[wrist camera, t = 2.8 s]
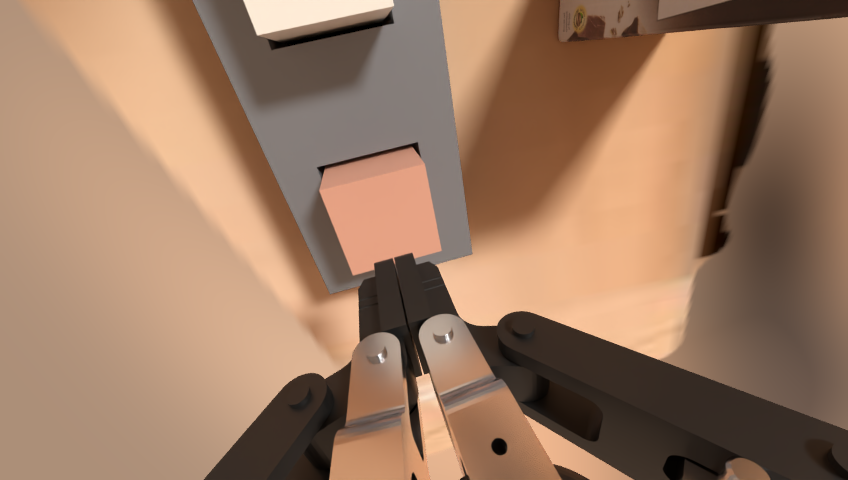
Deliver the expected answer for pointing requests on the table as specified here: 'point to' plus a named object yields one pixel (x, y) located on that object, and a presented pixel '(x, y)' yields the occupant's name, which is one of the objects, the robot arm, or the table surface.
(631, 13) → the coffee box
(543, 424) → the robot arm
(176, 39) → the table surface
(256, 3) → the key white
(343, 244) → the key terracotta
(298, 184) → the grey long rectangular block
